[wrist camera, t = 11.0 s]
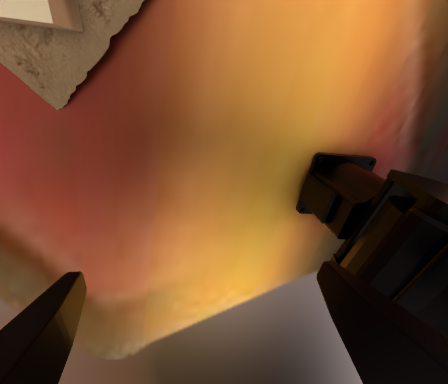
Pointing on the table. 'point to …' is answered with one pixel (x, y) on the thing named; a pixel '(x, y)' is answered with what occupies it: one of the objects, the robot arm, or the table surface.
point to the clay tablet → (63, 48)
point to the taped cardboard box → (42, 13)
